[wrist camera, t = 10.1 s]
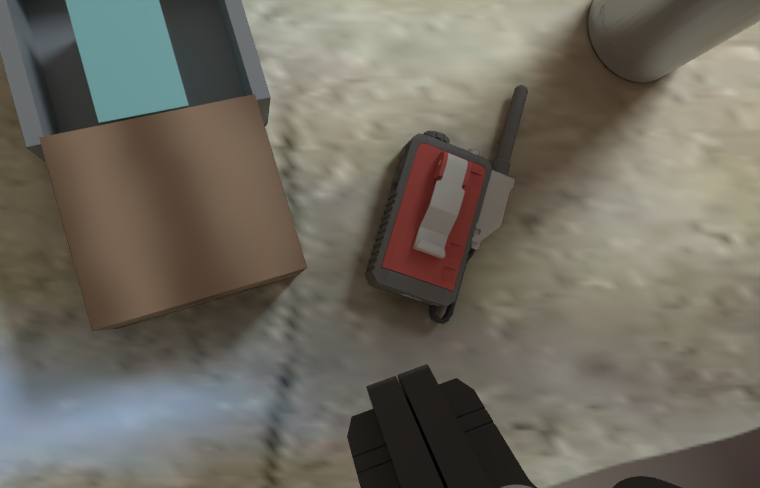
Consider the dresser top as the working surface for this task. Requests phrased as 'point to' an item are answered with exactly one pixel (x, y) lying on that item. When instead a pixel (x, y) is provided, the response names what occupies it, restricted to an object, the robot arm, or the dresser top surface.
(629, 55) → the robot arm
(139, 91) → the block
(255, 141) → the brown box
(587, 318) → the dresser top surface
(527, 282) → the dresser top surface
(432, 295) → the walkie-talkie
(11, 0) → the box
